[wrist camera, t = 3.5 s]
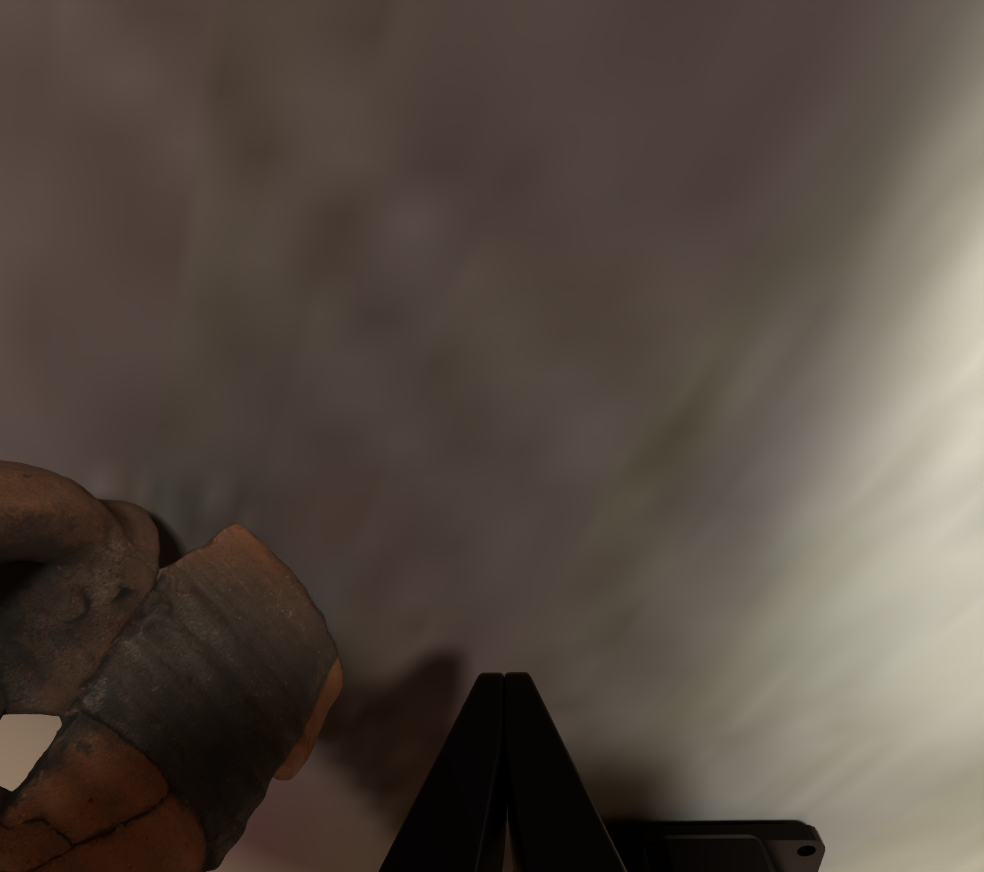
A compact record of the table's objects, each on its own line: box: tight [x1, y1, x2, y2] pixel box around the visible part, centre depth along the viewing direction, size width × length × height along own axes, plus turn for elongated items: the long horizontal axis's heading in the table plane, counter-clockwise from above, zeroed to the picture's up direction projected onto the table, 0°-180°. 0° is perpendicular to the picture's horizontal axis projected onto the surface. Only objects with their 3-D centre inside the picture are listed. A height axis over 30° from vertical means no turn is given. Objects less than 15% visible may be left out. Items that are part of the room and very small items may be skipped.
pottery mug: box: [0, 461, 343, 872], centre depth 10 cm, size 12×10×8 cm
